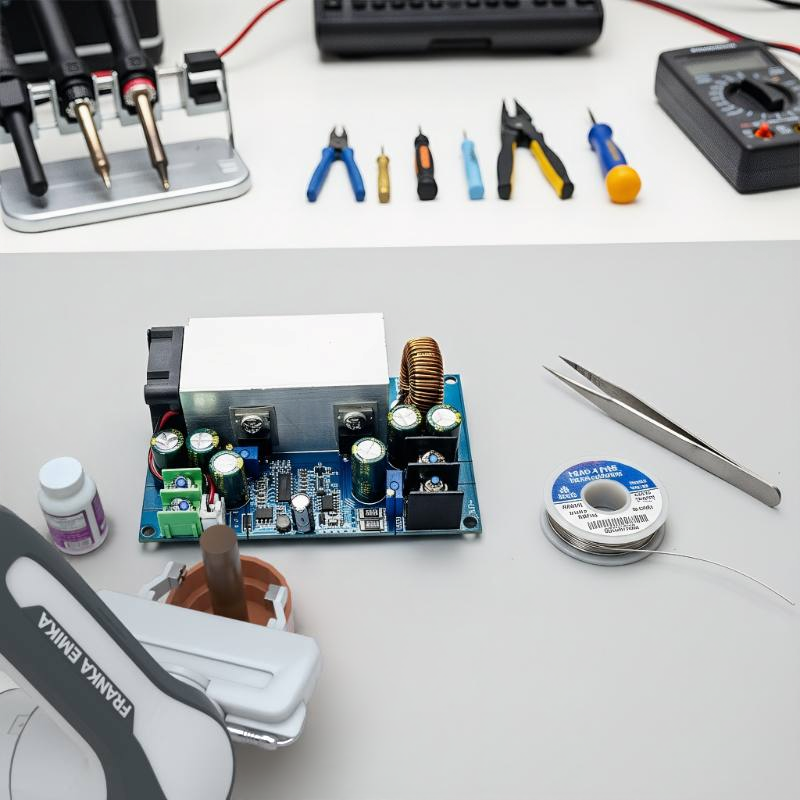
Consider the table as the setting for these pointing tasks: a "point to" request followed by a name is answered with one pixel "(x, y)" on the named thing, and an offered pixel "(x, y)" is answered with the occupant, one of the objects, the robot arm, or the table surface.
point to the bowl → (255, 585)
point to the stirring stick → (224, 572)
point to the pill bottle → (71, 506)
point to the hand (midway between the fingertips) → (228, 577)
